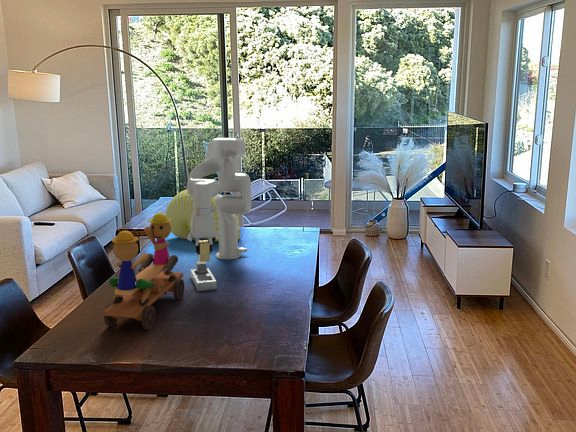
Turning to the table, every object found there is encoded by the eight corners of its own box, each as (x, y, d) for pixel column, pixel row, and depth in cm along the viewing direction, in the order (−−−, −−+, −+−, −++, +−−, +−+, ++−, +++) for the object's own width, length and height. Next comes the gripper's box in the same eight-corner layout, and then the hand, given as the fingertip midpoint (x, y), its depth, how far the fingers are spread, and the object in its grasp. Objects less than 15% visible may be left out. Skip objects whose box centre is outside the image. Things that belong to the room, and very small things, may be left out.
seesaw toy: (141, 337, 198) (135, 237, 190) (99, 334, 200) (91, 235, 193) (188, 292, 241) (184, 209, 233) (153, 290, 243) (148, 207, 236)
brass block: (207, 257, 248) (207, 240, 245) (209, 261, 244) (209, 243, 242) (198, 258, 246) (198, 240, 244) (200, 261, 243) (199, 244, 240)
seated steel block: (205, 277, 259) (204, 260, 257) (206, 280, 255) (206, 263, 254) (196, 278, 258) (195, 261, 256) (197, 281, 254) (197, 264, 252)
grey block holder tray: (208, 275, 263) (208, 267, 262) (216, 288, 245) (216, 281, 244) (191, 277, 260) (190, 269, 259) (197, 290, 242) (197, 283, 242)
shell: (228, 260, 308) (241, 248, 337) (243, 205, 302) (254, 197, 331) (152, 237, 312) (170, 227, 341) (164, 182, 306) (182, 176, 335)
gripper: (220, 208, 247) (221, 249, 251) (181, 210, 242) (182, 252, 246) (224, 211, 240) (225, 254, 244) (183, 214, 235) (185, 257, 239)
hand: (203, 253), depth 245 cm, fingers closed on brass block, 4 cm apart
